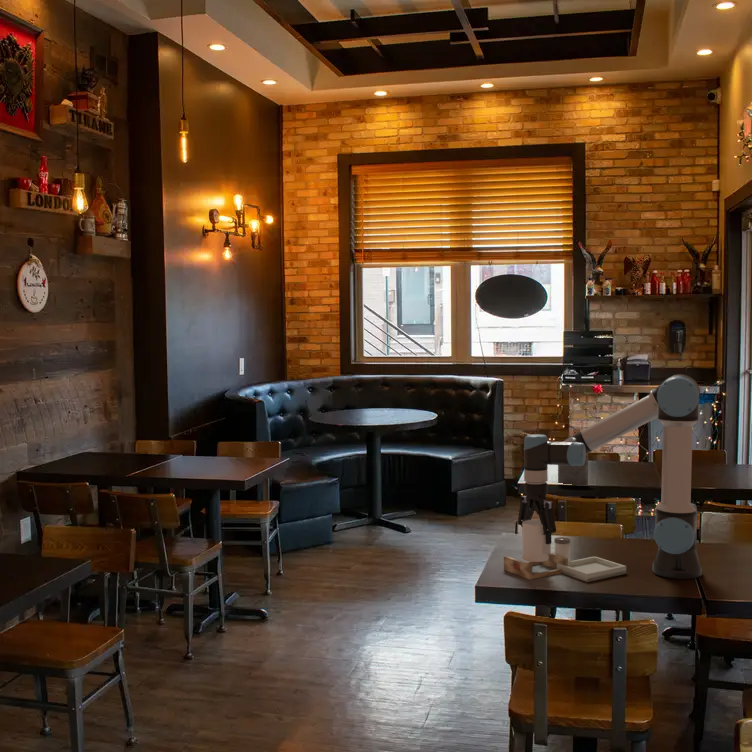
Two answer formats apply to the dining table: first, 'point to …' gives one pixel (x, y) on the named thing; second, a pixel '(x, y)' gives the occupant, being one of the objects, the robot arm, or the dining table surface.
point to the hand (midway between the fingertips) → (536, 550)
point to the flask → (573, 474)
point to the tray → (592, 568)
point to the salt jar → (562, 547)
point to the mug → (533, 541)
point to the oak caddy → (526, 567)
